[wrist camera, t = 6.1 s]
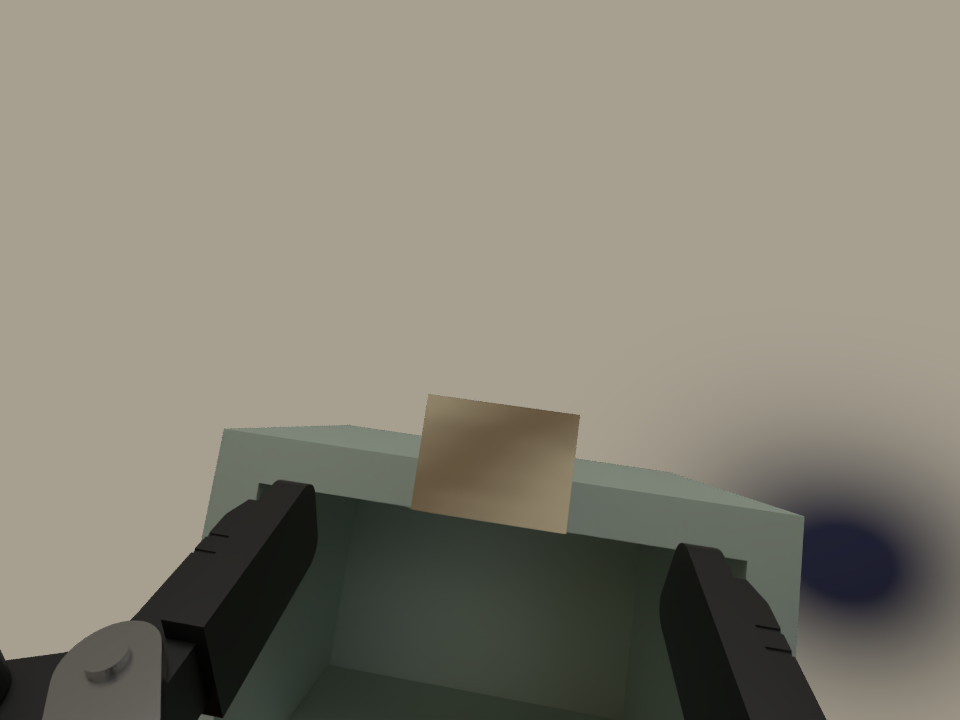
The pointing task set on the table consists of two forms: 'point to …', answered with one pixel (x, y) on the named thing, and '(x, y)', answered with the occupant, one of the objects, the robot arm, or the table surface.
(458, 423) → the slat
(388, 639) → the tall sage green box
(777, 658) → the robot arm
